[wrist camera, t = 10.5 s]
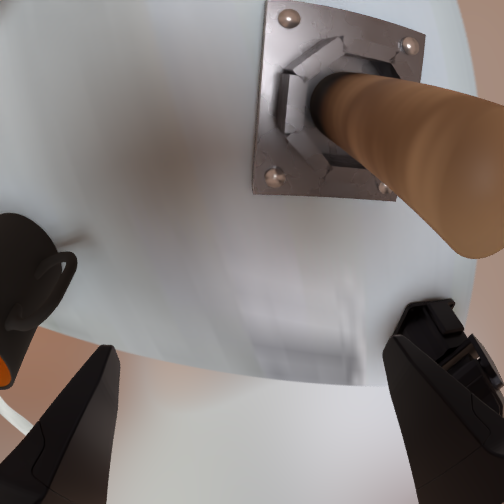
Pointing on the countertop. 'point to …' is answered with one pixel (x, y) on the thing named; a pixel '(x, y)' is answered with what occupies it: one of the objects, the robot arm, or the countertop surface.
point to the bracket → (302, 86)
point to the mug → (27, 288)
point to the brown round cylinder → (424, 151)
